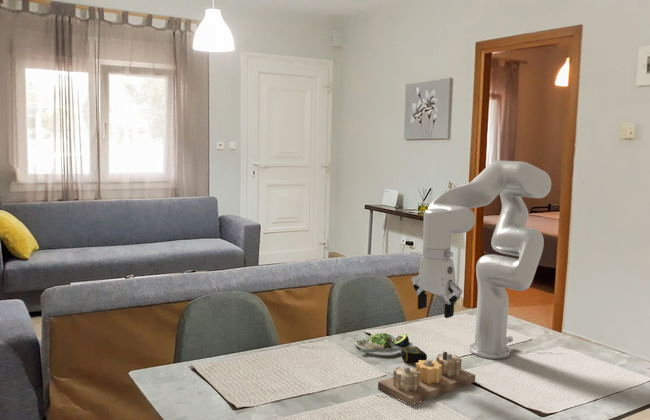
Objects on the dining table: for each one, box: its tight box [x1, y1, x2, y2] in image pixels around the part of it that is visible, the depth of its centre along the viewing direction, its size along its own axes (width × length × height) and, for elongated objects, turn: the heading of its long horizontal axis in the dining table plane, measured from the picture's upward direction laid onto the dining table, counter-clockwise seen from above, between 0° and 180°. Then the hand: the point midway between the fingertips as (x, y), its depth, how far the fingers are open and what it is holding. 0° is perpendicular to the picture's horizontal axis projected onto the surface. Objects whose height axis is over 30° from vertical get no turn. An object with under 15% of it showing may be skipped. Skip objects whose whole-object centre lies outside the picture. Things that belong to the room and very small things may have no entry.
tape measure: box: [400, 346, 428, 364], centre depth 177 cm, size 7×7×4 cm
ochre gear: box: [415, 360, 442, 384], centre depth 159 cm, size 7×7×4 cm
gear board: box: [377, 351, 476, 406], centre depth 159 cm, size 26×12×8 cm, turn 128°
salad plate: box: [354, 332, 414, 357], centre depth 187 cm, size 19×18×5 cm
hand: (435, 312), depth 163 cm, fingers open, 9 cm apart
